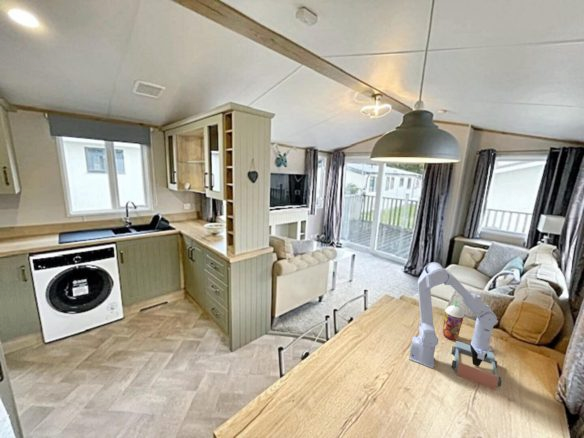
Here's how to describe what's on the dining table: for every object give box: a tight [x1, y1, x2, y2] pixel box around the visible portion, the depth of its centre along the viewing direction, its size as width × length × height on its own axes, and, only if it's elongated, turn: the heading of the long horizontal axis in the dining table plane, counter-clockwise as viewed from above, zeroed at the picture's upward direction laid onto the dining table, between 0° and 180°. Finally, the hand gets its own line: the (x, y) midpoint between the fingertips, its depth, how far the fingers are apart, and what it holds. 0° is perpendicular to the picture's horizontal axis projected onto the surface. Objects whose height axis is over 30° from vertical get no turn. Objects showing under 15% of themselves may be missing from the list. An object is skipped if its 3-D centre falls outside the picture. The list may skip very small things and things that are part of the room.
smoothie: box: [442, 300, 465, 341], centre depth 130 cm, size 8×8×20 cm
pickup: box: [451, 340, 502, 389], centre depth 111 cm, size 16×17×5 cm
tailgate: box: [455, 362, 500, 391], centre depth 103 cm, size 13×1×6 cm, turn 58°
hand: (475, 364), depth 109 cm, fingers closed
